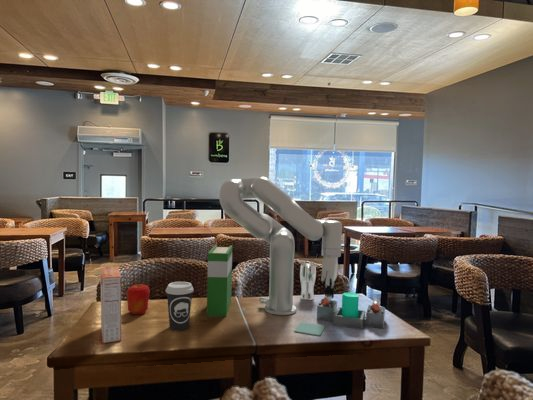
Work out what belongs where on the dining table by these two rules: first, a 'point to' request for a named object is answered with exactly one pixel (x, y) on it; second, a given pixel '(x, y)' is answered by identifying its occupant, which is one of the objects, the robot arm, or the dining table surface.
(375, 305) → the right plunger
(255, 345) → the dining table surface
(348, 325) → the housing
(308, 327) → the pad
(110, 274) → the cracker box
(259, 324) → the dining table surface
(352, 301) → the candle
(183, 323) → the coffee cup
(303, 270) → the beer glass
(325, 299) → the left plunger
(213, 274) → the hardback book
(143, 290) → the apple
